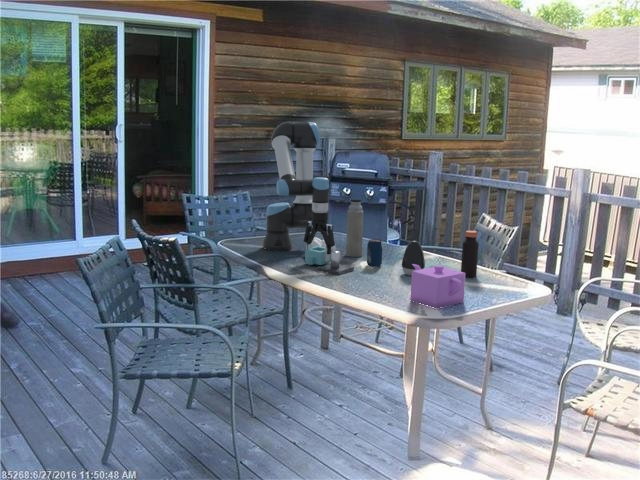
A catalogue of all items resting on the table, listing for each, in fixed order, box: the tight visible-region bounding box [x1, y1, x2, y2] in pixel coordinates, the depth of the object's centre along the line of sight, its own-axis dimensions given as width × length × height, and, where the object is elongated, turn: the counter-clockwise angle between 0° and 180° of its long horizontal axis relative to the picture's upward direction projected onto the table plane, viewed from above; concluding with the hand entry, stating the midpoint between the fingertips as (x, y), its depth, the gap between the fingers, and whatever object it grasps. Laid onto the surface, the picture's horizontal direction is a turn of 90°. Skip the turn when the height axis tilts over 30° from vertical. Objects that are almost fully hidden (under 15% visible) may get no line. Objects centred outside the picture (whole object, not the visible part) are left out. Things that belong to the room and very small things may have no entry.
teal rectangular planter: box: [304, 246, 334, 266], centre depth 302 cm, size 14×9×6 cm, turn 143°
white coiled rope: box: [305, 236, 327, 250], centre depth 318 cm, size 11×12×9 cm
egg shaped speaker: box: [401, 240, 426, 277], centre depth 285 cm, size 10×10×15 cm
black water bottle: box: [460, 230, 479, 279], centre depth 284 cm, size 7×7×20 cm
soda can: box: [366, 238, 383, 268], centre depth 301 cm, size 7×7×12 cm
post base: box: [316, 250, 355, 276], centre depth 290 cm, size 12×12×8 cm
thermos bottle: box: [345, 198, 364, 258], centre depth 321 cm, size 8×8×28 cm
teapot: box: [409, 264, 466, 309], centre depth 244 cm, size 15×25×14 cm, turn 38°
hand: (318, 259), depth 302 cm, fingers closed on teal rectangular planter, 9 cm apart
